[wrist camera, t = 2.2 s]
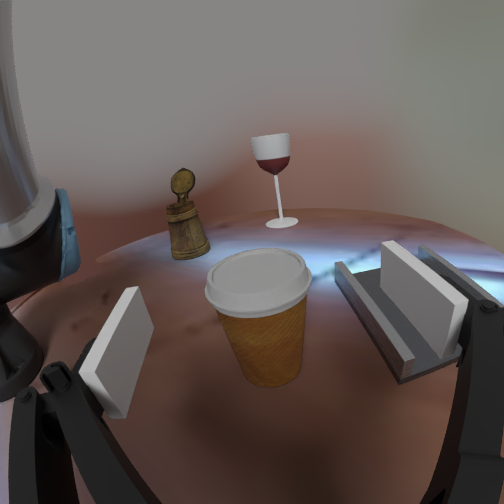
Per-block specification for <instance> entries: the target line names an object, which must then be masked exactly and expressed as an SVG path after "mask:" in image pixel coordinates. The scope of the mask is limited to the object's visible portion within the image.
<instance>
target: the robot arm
mask: <svg viewBox="0 0 504 504" xmlns="http://www.w3.org/2000/svg"><path fill="white" fill-rule="evenodd" d="M80 264H81V259H80V252H79V246H78V241H77V237H76V232H75V230H74V223H73V217H72V212H71V207H70V203H69V198H68V195H67V191H66V190H65V189H54V186H53V185H52V183H51V181H50V180H49V179H48V178H47V177H45V176H43V175H40V174H37V171H36V168H35V165H34V161H33V158H32V154H31V150H30V146H29V142H28V138H27V134H26V130H25V125H24V121H23V116H22V111H21V106H20V101H19V95H18V88H17V81H16V74H15V65H14V55H13V41H12V0H0V402H2V401H5V400H8V399H10V398H12V397H13V396H15V395H16V396H15V399H14V405H13V412H12V421H11V431H10V444H9V470H8V479H9V504H80V503H79V498H78V494H77V489H76V483H75V478H74V472H73V466H72V459H71V453H72V456H73V458H74V460H75V463H76V465H77V467H78V469H79V471H80V473H81V476H82V478H83V480H84V482H85V484H86V486H87V488H88V490H89V492H90V493H91V495H92V497H93V499H94V501H95V503H96V504H162V503H161V502H160V501H159V499H158V498H157V497H156V496H155V494H154V493H153V492H152V491H151V489H150V488H149V487H148V485H147V484H146V483H145V481H144V480H143V479H142V477H141V476H140V475H139V473H138V472H137V471H136V469H135V468H134V466H133V465H132V463H131V462H130V461H129V459H128V458H127V456H126V455H125V453H124V452H123V450H122V448H121V447H120V445H119V444H118V442H117V441H116V439H115V437H114V436H113V434H112V432H111V431H110V429H109V427H108V426H107V424H106V422H105V421H104V420H103V418H102V414H103V411H105V412H106V414H107V415H108V416H109V418H110V419H126V416H127V413H128V409H129V406H130V402H131V399H132V396H133V392H134V389H135V386H136V382H137V379H138V376H139V373H140V370H141V367H142V363H143V360H144V357H145V354H146V351H147V348H148V345H149V342H150V339H151V336H152V333H153V330H154V326H153V324H152V321H151V319H150V316H149V313H148V311H147V308H146V305H145V303H144V300H143V297H142V295H141V292H140V289H139V286H137V287H131V288H126V289H125V291H124V292H123V294H122V296H121V297H120V299H119V301H118V302H117V304H116V306H115V307H114V309H113V311H112V312H111V314H110V316H109V318H108V319H107V321H106V323H105V324H104V326H103V328H102V330H101V331H100V333H99V335H98V337H97V338H93V339H92V340H91V341H90V342H89V343H88V344H87V345H86V346H85V348H84V350H83V351H82V354H81V355H80V357H79V359H78V360H77V362H76V364H75V366H74V368H73V369H72V371H71V372H70V371H69V369H68V367H67V366H66V364H65V363H64V362H61V361H58V362H53V363H51V364H49V365H48V366H46V367H45V368H44V369H43V370H42V372H41V374H40V380H41V381H42V383H43V384H44V386H45V387H46V389H47V390H48V391H49V392H48V393H43V394H39V393H38V391H37V390H36V389H35V388H34V387H31V386H29V387H26V386H27V385H28V384H29V383H30V382H31V381H32V380H33V379H34V377H35V376H36V375H37V373H38V371H39V369H40V367H41V365H42V362H43V351H42V349H41V347H40V346H39V344H38V342H37V340H36V339H35V338H34V337H33V336H32V335H31V334H30V333H29V332H28V331H27V330H26V329H25V328H24V327H23V326H22V325H21V323H20V322H19V321H18V320H17V319H16V318H15V317H14V316H13V315H12V314H11V312H10V310H9V308H8V306H7V304H6V303H7V302H9V301H12V300H14V299H16V298H19V297H21V296H23V295H26V294H28V293H31V292H33V291H36V290H38V289H41V288H43V287H46V286H48V285H51V284H53V283H56V282H60V281H61V280H62V279H63V278H65V277H67V276H69V275H71V274H73V273H75V272H77V270H78V269H79V267H80ZM380 288H381V289H382V290H383V291H384V292H385V293H386V294H387V295H388V297H389V298H390V299H391V300H392V301H393V302H394V303H395V305H396V306H397V307H398V308H399V309H400V310H401V312H402V313H403V314H404V315H405V316H406V317H407V319H408V320H409V321H410V322H411V323H412V325H413V326H414V327H415V328H416V329H417V331H418V332H419V333H420V334H421V335H422V337H423V338H424V339H425V340H426V341H427V343H428V344H429V345H430V346H431V348H432V349H433V350H434V351H435V353H436V354H437V355H438V356H439V358H440V359H444V358H446V357H448V356H451V355H453V354H454V353H455V350H456V347H457V343H458V344H459V345H460V346H461V347H462V351H461V354H460V357H459V360H458V363H457V365H456V367H459V369H458V376H457V382H456V388H455V394H454V399H453V404H452V409H451V414H450V418H449V422H448V426H447V430H446V434H445V438H444V442H443V445H442V449H441V452H440V456H439V459H438V462H437V465H436V468H435V471H434V474H433V477H432V480H431V482H430V485H429V487H428V490H427V492H426V493H425V495H424V497H423V498H422V500H421V502H420V504H498V502H499V498H500V494H501V490H502V485H503V480H504V458H502V457H501V456H500V451H501V444H502V436H503V427H504V307H500V306H499V305H498V304H497V303H495V302H493V301H491V300H487V299H482V300H477V299H476V298H475V297H473V296H472V295H471V294H470V293H469V292H467V291H466V290H465V289H464V288H462V287H461V286H460V285H459V284H457V283H456V282H455V281H454V280H452V279H451V278H450V277H447V276H445V275H442V274H439V275H438V274H437V273H435V272H434V271H433V270H432V269H430V268H429V267H428V266H426V265H425V264H424V263H423V262H421V261H420V260H419V259H417V258H416V257H415V256H413V255H412V254H411V253H409V252H408V251H407V250H405V249H404V248H403V247H401V246H400V245H399V244H397V243H396V242H394V241H393V240H392V241H387V242H382V243H381V277H380Z"/></svg>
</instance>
